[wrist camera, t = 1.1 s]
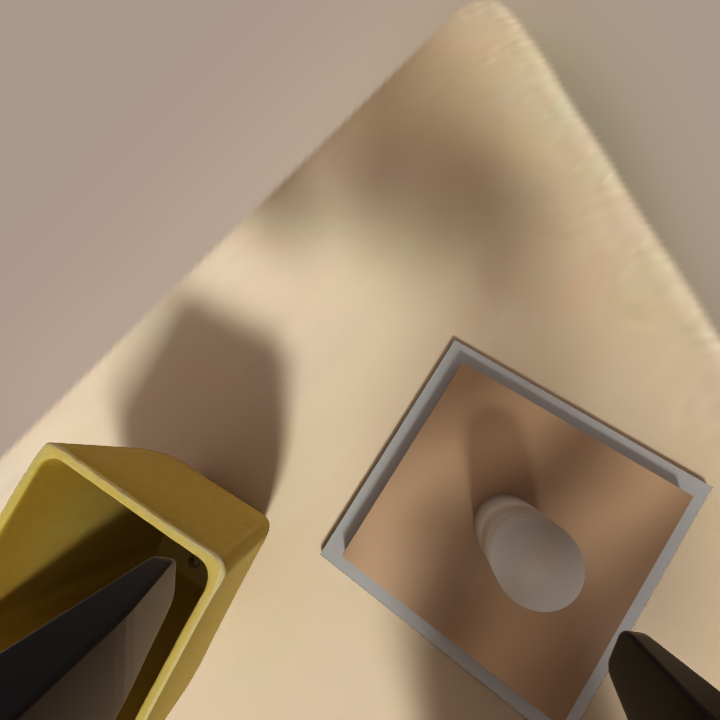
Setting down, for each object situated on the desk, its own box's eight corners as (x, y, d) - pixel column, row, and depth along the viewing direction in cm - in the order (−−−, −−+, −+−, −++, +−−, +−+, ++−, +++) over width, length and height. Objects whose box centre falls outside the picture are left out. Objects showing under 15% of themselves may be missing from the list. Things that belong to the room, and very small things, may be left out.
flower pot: (191, 428, 22) (41, 436, 13) (309, 501, 20) (227, 566, 11) (120, 559, 21) (-88, 659, 13) (235, 646, 19) (87, 834, 11)
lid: (680, 492, 17) (792, 524, 12) (554, 712, 16) (615, 844, 11) (461, 363, 20) (476, 345, 15) (344, 550, 19) (319, 598, 14)
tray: (707, 486, 17) (712, 487, 17) (561, 742, 16) (563, 748, 16) (454, 341, 20) (454, 339, 20) (321, 552, 20) (319, 554, 19)
